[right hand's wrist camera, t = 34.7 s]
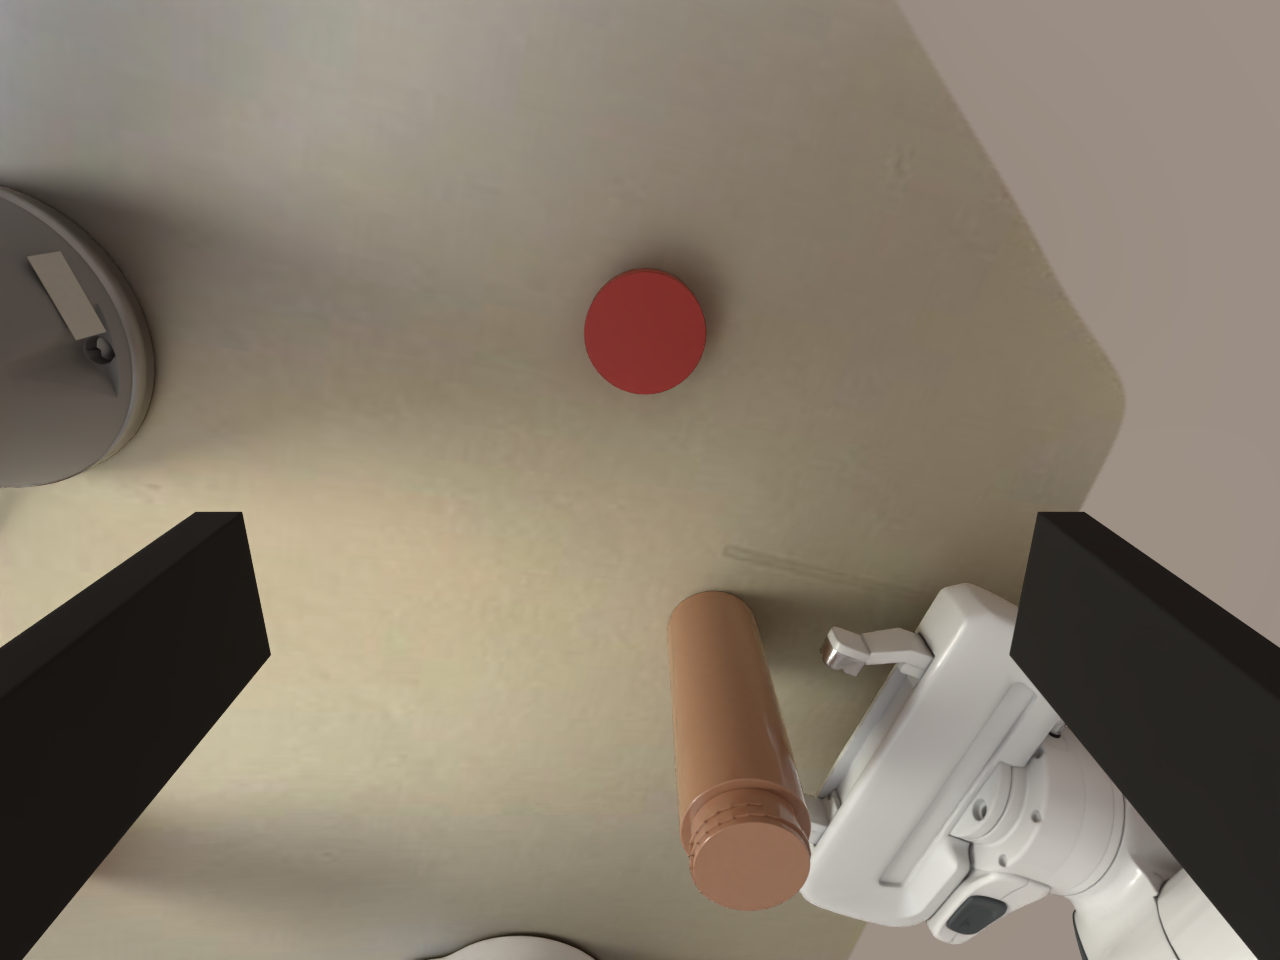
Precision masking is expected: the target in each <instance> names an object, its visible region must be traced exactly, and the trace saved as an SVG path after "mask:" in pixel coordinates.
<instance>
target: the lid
mask: <svg viewBox="0 0 1280 960" xmlns="http://www.w3.org/2000/svg"><path fill="white" fill-rule="evenodd" d="M584 338H585V345H586V350H587V353H588V355H589V358H590V360H591V362H592V364H593V366H594V367H595V368H596V370H597V371H598V372H599V374H600V375H601V376H602V377H603V378H604V379H605V380H607V381H608V382H609V383H611V384H612V385H614V386H615V387H617V388H619V389H621V390H624V391H627V392H630V393H635V394H655V393H660V392H663V391H666V390H669V389H671V388H673V387H675V386H676V385H678V384H679V383H681V382H682V381H683V380H685V379H686V378H687V377H688V376H689V375H690V374H691V373H692V372H693V370H694V369H695V367H696V366H697V364H698V362H699V360H700V359H701V356H702V353H703V351H704V346H705V341H706V325H705V319H704V316H703V312H702V310H701V308H700V305H699V303H698V302H697V300H696V298H695V297H694V295H693V293H692V292H691V291H690V290H689V288H688V287H687V286H686V285H685V284H684V283H683V282H682V281H680V280H679V279H677V278H676V277H674V276H672V275H670V274H668V273H666V272H663V271H660V270H655V269H635V270H630V271H627V272H624V273H622V274H620V275H618V276H616V277H614V278H613V279H611V280H610V281H609V282H607V283H606V284H605V285H604V286H603V287H602V288H601V290H600V291H599V292H598V293H597V295H596V297H595V298H594V300H593V302H592V304H591V306H590V309H589V311H588V314H587V317H586V321H585V328H584Z"/></svg>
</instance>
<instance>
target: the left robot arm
mask: <svg viewBox="0 0 1280 960" xmlns="http://www.w3.org/2000/svg"><path fill="white" fill-rule="evenodd" d="M1018 608H1019V607H1018V606H1016V605H1014V604H1012V603H1011V602H1009V601H1007V600H1005V599H1003V598H1001V597H999V596H997V595H995V594H993V593H991V592H989V591H987V590H985V589H983V588H980V587H978V586H976V585H973V584H970V583H960V584H956V585H952V586H947V587H944V588H943V589H941V590H940V592H939V593H938V595H937V596H936V598H935V599H934V601H933V603H932V604H931V606H930V608H929V609H928V611H927V613H926V614H925V616H924V618H923V619H922V621H921V623H920V624H919V626H918V627H917V629H916V631H915V632H914V633H913V632H910V631H907V630H904V629H902V628H899V627H898V628H892V629H886V630H880V631H874V632H868V633H862V634H861V635H858V634H856V633H853V632H850V631H847V630H844V629H842V628H839V627H832V628H831V630H830V632H829V633H828V635H827V637H826V639H825V640H824V642H823V644H822V646H821V648H820V649H819V651H820V654H823V656H822V659H823V662H824V663H825V664H826V665H827V666H829V667H830V668H832V669H835V670H841V669H843V671H844V672H845V673H846V674H849V675H852V676H855V677H857V675H858V674H859V672H860V671H861V669H862V668H863V666H864V664H865V665H875V664H887V663H895V665H894V667H893V668H892V670H891V672H890V673H889V675H888V676H887V678H886V680H885V681H884V683H883V685H882V686H881V688H880V690H879V691H878V693H877V694H876V696H875V698H874V699H873V701H872V703H871V704H870V706H869V708H868V709H867V711H866V712H865V714H864V716H863V717H862V719H861V721H860V722H859V724H858V726H857V727H856V729H855V730H854V732H853V734H852V735H851V737H850V739H849V740H848V742H847V744H846V745H845V747H844V748H843V750H842V752H841V753H840V755H839V757H838V758H837V760H836V762H835V763H834V765H833V766H832V768H831V770H830V771H829V773H828V775H827V776H826V778H825V780H824V781H823V783H822V784H821V786H820V788H819V789H818V791H817V793H816V794H815V796H810V795H807V794H804V797H805V801H806V804H807V808H808V811H809V815H810V819H811V833H810V837H809V845H810V850H811V858H810V871H809V875H808V877H807V880H806V882H805V883H804V885H803V886H802V888H801V889H800V890H799V892H800V893H801V894H802V896H803V897H804V898H805V899H806V900H807V901H808V902H809V903H811V904H813V905H815V906H818V907H820V908H823V909H826V910H829V911H832V912H835V913H838V914H841V915H845V916H848V917H852V918H855V919H859V920H863V921H867V922H871V923H875V924H879V925H884V926H891V927H908V926H914V925H917V924H919V923H922V922H924V921H926V923H927V925H928V927H929V929H930V931H931V932H932V934H933V936H934V937H935V938H937V939H938V940H940V941H943V942H946V943H949V944H962V943H965V942H967V941H969V940H970V939H972V938H973V937H975V936H976V935H977V934H979V933H980V932H982V931H983V930H984V929H986V928H987V927H989V926H990V925H992V924H993V923H995V922H996V921H998V920H999V919H1001V918H1003V917H1004V916H1006V915H1008V914H1009V913H1011V912H1013V911H1015V910H1017V909H1019V908H1021V907H1023V906H1025V905H1028V904H1030V903H1033V902H1035V901H1037V900H1039V899H1041V898H1043V897H1045V896H1046V895H1047V894H1048V893H1050V894H1053V895H1058V896H1062V897H1066V898H1067V899H1069V901H1070V902H1071V903H1072V904H1073V906H1074V907H1075V910H1074V912H1073V924H1074V929H1075V935H1076V938H1077V942H1078V946H1079V950H1080V953H1081V956H1082V960H1258V959H1257V958H1256V957H1255V956H1254V954H1253V953H1252V952H1251V951H1250V949H1249V948H1248V947H1247V946H1246V945H1245V943H1244V942H1243V941H1242V940H1241V938H1240V937H1239V936H1238V935H1237V934H1236V932H1235V931H1234V930H1233V929H1232V927H1231V926H1230V925H1229V924H1228V923H1227V921H1226V920H1225V919H1224V918H1223V916H1222V915H1221V914H1220V913H1219V911H1218V910H1217V909H1216V908H1215V907H1214V905H1213V904H1212V903H1211V902H1210V900H1209V899H1208V898H1207V897H1206V896H1205V894H1204V893H1203V892H1202V891H1201V889H1200V888H1199V887H1198V886H1197V885H1196V883H1195V882H1194V881H1193V880H1192V878H1191V877H1190V876H1189V875H1188V874H1187V872H1186V871H1185V870H1184V869H1183V867H1182V866H1181V865H1180V864H1179V862H1178V861H1177V860H1176V859H1175V858H1174V856H1173V855H1172V854H1171V853H1170V851H1169V850H1168V849H1167V848H1166V847H1165V845H1164V844H1163V843H1162V842H1161V840H1160V839H1159V838H1158V837H1157V836H1156V834H1155V833H1154V832H1153V831H1152V829H1151V828H1150V827H1149V826H1148V825H1147V823H1146V822H1145V821H1144V820H1143V818H1142V817H1141V816H1140V815H1139V813H1138V812H1137V811H1136V810H1135V809H1134V807H1133V806H1132V805H1131V804H1130V802H1129V801H1128V800H1127V799H1126V798H1125V796H1124V795H1123V794H1122V793H1121V791H1120V790H1119V789H1118V788H1117V787H1116V785H1115V784H1114V783H1113V782H1112V780H1111V779H1110V778H1109V777H1108V776H1107V774H1106V773H1105V772H1104V771H1103V769H1102V768H1101V767H1100V766H1099V764H1098V763H1097V762H1096V761H1095V760H1094V758H1093V757H1092V756H1091V755H1090V753H1089V752H1088V751H1087V750H1086V749H1085V747H1084V746H1083V745H1082V744H1081V742H1080V741H1079V740H1078V739H1077V738H1076V736H1075V735H1074V734H1073V733H1072V731H1071V730H1070V729H1069V728H1068V727H1066V724H1065V723H1064V722H1063V720H1062V719H1061V718H1060V717H1059V715H1058V714H1057V713H1056V712H1055V711H1054V709H1053V708H1052V707H1051V706H1050V704H1049V703H1048V702H1047V701H1046V700H1045V698H1044V697H1043V696H1042V695H1041V693H1040V692H1039V691H1038V690H1037V689H1036V687H1035V686H1034V685H1033V684H1032V682H1031V681H1030V680H1029V679H1028V678H1027V676H1026V675H1025V674H1024V673H1023V671H1022V670H1021V669H1020V668H1019V666H1018V665H1017V664H1016V663H1015V662H1014V660H1013V659H1012V658H1011V657H1010V655H1009V653H1010V648H1011V643H1012V638H1013V633H1014V628H1015V623H1016V618H1017V613H1018ZM429 960H595V959H593V958H592V957H590V956H589V955H587V954H586V953H584V952H582V951H580V950H579V949H577V948H574V947H572V946H570V945H567V944H564V943H561V942H558V941H555V940H551V939H546V938H540V937H532V936H505V937H497V938H491V939H487V940H483V941H480V942H477V943H474V944H471V945H469V946H467V947H465V948H463V949H461V950H459V951H457V952H455V953H453V954H451V955H448V956H446V957H443V958H437V959H429Z"/></svg>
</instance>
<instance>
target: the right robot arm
mask: <svg viewBox="0 0 1280 960" xmlns="http://www.w3.org/2000/svg"><path fill="white" fill-rule="evenodd" d="M153 385H154V355H153V348H152V342H151V338H150V333H149V329H148V326H147V323H146V320H145V317H144V314H143V312H142V310H141V307H140V305H139V303H138V301H137V298H136V297H135V295H134V293H133V291H132V289H131V287H130V286H129V284H128V282H127V281H126V279H125V278H124V276H123V275H122V273H121V272H120V270H119V269H118V268H117V266H116V265H115V264H114V262H113V261H112V260H111V259H110V257H109V256H108V255H107V254H106V253H105V252H104V251H103V249H102V248H101V247H100V246H99V245H98V244H97V243H96V242H95V241H94V240H93V239H92V238H91V237H90V236H89V235H88V234H87V233H85V232H84V231H83V230H82V229H81V228H79V227H78V226H77V225H76V224H75V223H73V222H72V221H71V220H69V219H68V218H66V217H65V216H64V215H62V214H61V213H59V212H58V211H56V210H55V209H53V208H51V207H49V206H48V205H46V204H44V203H42V202H41V201H39V200H36V199H34V198H32V197H30V196H28V195H26V194H23V193H21V192H18V191H15V190H13V189H10V188H7V187H3V186H0V488H5V487H29V486H39V485H46V484H51V483H55V482H59V481H62V480H65V479H68V478H70V477H73V476H75V475H77V474H79V473H81V472H83V471H85V470H87V469H90V468H92V467H94V466H96V465H98V464H100V463H102V462H104V461H105V460H107V459H109V458H110V457H112V456H113V455H114V454H116V453H117V452H118V451H119V450H121V449H122V448H123V447H124V446H125V445H126V444H127V443H128V442H129V441H130V440H131V438H132V437H133V436H134V434H135V433H136V432H137V430H138V428H139V427H140V425H141V423H142V422H143V420H144V417H145V415H146V413H147V410H148V407H149V404H150V400H151V397H152V391H153ZM270 655H271V653H270V648H269V643H268V638H267V633H266V628H265V623H264V618H263V613H262V608H261V603H260V598H259V593H258V588H257V583H256V578H255V573H254V568H253V563H252V559H251V554H250V549H249V544H248V539H247V534H246V529H245V524H244V519H243V514H242V512H195V513H193V514H192V515H191V516H189V517H188V518H186V519H185V520H183V521H182V522H180V523H179V524H178V525H176V526H175V527H173V528H172V529H170V530H169V531H168V532H166V533H165V534H163V535H162V536H160V537H159V538H157V539H156V540H155V541H153V542H152V543H150V544H149V545H147V546H146V547H145V548H143V549H142V550H140V551H139V552H137V553H136V554H134V555H133V556H132V557H130V558H129V559H127V560H126V561H124V562H123V563H122V564H120V565H119V566H117V567H116V568H114V569H113V570H111V571H110V572H109V573H107V574H106V575H104V576H103V577H101V578H100V579H99V580H97V581H96V582H94V583H93V584H91V585H90V586H88V587H87V588H86V589H84V590H83V591H81V592H80V593H78V594H77V595H76V596H74V597H73V598H71V599H70V600H68V601H67V602H65V603H64V604H63V605H61V606H60V607H58V608H57V609H55V610H54V611H53V612H51V613H50V614H48V615H47V616H45V617H44V618H42V619H41V620H40V621H38V622H37V623H35V624H34V625H32V626H31V627H30V628H28V629H27V630H25V631H24V632H22V633H21V634H19V635H18V636H17V637H15V638H14V639H12V640H11V641H9V642H8V643H7V644H5V645H4V646H2V647H1V648H0V960H22V959H23V958H24V957H25V956H26V954H27V953H28V952H29V951H30V949H31V948H32V947H33V946H34V945H35V943H36V942H37V941H38V940H39V938H40V937H41V936H42V935H43V934H44V932H45V931H46V930H47V929H48V927H49V926H50V925H51V924H52V923H53V921H54V920H55V919H56V918H57V916H58V915H59V914H60V913H61V911H62V910H63V909H64V908H65V907H66V905H67V904H68V903H69V902H70V900H71V899H72V898H73V897H74V896H75V894H76V893H77V892H78V891H79V889H80V888H81V887H82V886H83V885H84V883H85V882H86V881H87V880H88V878H89V877H90V876H91V875H92V874H93V872H94V871H95V870H96V869H97V867H98V866H99V865H100V864H101V862H102V861H103V860H104V859H105V858H106V856H107V855H108V854H109V853H110V851H111V850H112V849H113V848H114V847H115V845H116V844H117V843H118V842H119V840H120V839H121V838H122V837H123V836H124V834H125V833H126V832H127V831H128V829H129V828H130V827H131V826H132V825H133V823H134V822H135V821H136V820H137V818H138V817H139V816H140V815H141V813H142V812H143V811H144V810H145V809H146V807H147V806H148V805H149V804H150V802H151V801H152V800H153V799H154V798H155V796H156V795H157V794H158V793H159V791H160V790H161V789H162V788H163V787H164V785H165V784H166V783H167V782H168V780H169V779H170V778H171V777H172V776H173V774H174V773H175V772H176V771H177V769H178V768H179V767H180V766H181V764H182V763H183V762H184V761H185V760H186V758H187V757H188V756H189V755H190V753H191V752H192V751H193V750H194V749H195V747H196V746H197V745H198V744H199V742H200V741H201V740H202V739H203V738H204V736H205V735H206V734H207V733H208V731H209V730H210V729H211V728H212V727H213V725H214V724H215V723H216V722H217V720H218V719H219V718H220V717H221V715H222V714H223V713H224V712H225V711H226V709H227V708H228V707H229V706H230V704H231V703H232V702H233V701H234V700H235V698H236V697H237V696H238V695H239V693H240V692H241V691H242V690H243V689H244V687H245V686H246V685H247V684H248V682H249V681H250V680H251V679H252V678H253V676H254V675H255V674H256V673H257V671H258V670H259V669H260V668H261V666H262V665H263V664H264V663H265V662H266V660H267V659H268V658H269V657H270ZM1009 655H1010V657H1011V658H1012V659H1013V660H1014V662H1015V663H1016V664H1017V665H1018V666H1019V668H1020V669H1021V670H1022V671H1023V673H1024V674H1025V675H1026V676H1027V678H1028V679H1029V680H1030V681H1031V682H1032V684H1033V685H1034V686H1035V687H1036V689H1037V690H1038V691H1039V692H1040V693H1041V695H1042V696H1043V697H1044V698H1045V700H1046V701H1047V702H1048V703H1049V704H1050V706H1051V707H1052V708H1053V709H1054V711H1055V712H1056V713H1057V714H1058V715H1059V717H1060V718H1061V719H1062V720H1063V722H1064V723H1065V724H1066V725H1067V727H1068V728H1069V729H1070V730H1071V731H1072V733H1073V734H1074V735H1075V736H1076V738H1077V739H1078V740H1079V741H1080V742H1081V744H1082V745H1083V746H1084V747H1085V749H1086V750H1087V751H1088V752H1089V753H1090V755H1091V756H1092V757H1093V758H1094V760H1095V761H1096V762H1097V763H1098V764H1099V766H1100V767H1101V768H1102V769H1103V771H1104V772H1105V773H1106V774H1107V776H1108V777H1109V778H1110V779H1111V780H1112V782H1113V783H1114V784H1115V785H1116V787H1117V788H1118V789H1119V790H1120V791H1121V793H1122V794H1123V795H1124V796H1125V798H1126V799H1127V800H1128V801H1129V802H1130V804H1131V805H1132V806H1133V807H1134V809H1135V810H1136V811H1137V812H1138V813H1139V815H1140V816H1141V817H1142V818H1143V820H1144V821H1145V822H1146V823H1147V825H1148V826H1149V827H1150V828H1151V829H1152V831H1153V832H1154V833H1155V834H1156V836H1157V837H1158V838H1159V839H1160V840H1161V842H1162V843H1163V844H1164V845H1165V847H1166V848H1167V849H1168V850H1169V851H1170V853H1171V854H1172V855H1173V856H1174V858H1175V859H1176V860H1177V861H1178V862H1179V864H1180V865H1181V866H1182V867H1183V869H1184V870H1185V871H1186V872H1187V874H1188V875H1189V876H1190V877H1191V878H1192V880H1193V881H1194V882H1195V883H1196V885H1197V886H1198V887H1199V888H1200V889H1201V891H1202V892H1203V893H1204V894H1205V896H1206V897H1207V898H1208V899H1209V900H1210V902H1211V903H1212V904H1213V905H1214V907H1215V908H1216V909H1217V910H1218V911H1219V913H1220V914H1221V915H1222V916H1223V918H1224V919H1225V920H1226V921H1227V923H1228V924H1229V925H1230V926H1231V927H1232V929H1233V930H1234V931H1235V932H1236V934H1237V935H1238V936H1239V937H1240V938H1241V940H1242V941H1243V942H1244V943H1245V945H1246V946H1247V947H1248V948H1249V949H1250V951H1251V952H1252V953H1253V954H1254V956H1255V957H1256V958H1257V959H1258V960H1280V648H1279V647H1278V646H1276V645H1275V644H1273V643H1272V642H1271V641H1269V640H1268V639H1266V638H1265V637H1263V636H1262V635H1261V634H1259V633H1258V632H1256V631H1255V630H1253V629H1252V628H1250V627H1249V626H1248V625H1246V624H1245V623H1243V622H1242V621H1240V620H1239V619H1238V618H1236V617H1235V616H1233V615H1232V614H1230V613H1229V612H1227V611H1226V610H1224V609H1223V608H1222V607H1220V606H1219V605H1217V604H1216V603H1215V602H1213V601H1212V600H1210V599H1209V598H1207V597H1206V596H1204V595H1203V594H1202V593H1200V592H1199V591H1197V590H1196V589H1194V588H1193V587H1191V586H1190V585H1189V584H1187V583H1186V582H1184V581H1183V580H1181V579H1180V578H1179V577H1177V576H1176V575H1174V574H1173V573H1171V572H1170V571H1169V570H1167V569H1166V568H1164V567H1163V566H1161V565H1160V564H1158V563H1157V562H1156V561H1154V560H1153V559H1151V558H1150V557H1148V556H1147V555H1146V554H1144V553H1143V552H1141V551H1140V550H1138V549H1137V548H1135V547H1134V546H1133V545H1131V544H1130V543H1128V542H1127V541H1125V540H1124V539H1123V538H1121V537H1120V536H1118V535H1117V534H1115V533H1114V532H1112V531H1111V530H1110V529H1108V528H1107V527H1105V526H1104V525H1102V524H1101V523H1100V522H1098V521H1097V520H1095V519H1094V518H1092V517H1091V516H1089V515H1088V514H1087V513H1085V512H1038V514H1037V519H1036V524H1035V529H1034V534H1033V539H1032V544H1031V549H1030V554H1029V559H1028V563H1027V568H1026V573H1025V578H1024V583H1023V588H1022V593H1021V598H1020V603H1019V608H1018V613H1017V618H1016V623H1015V628H1014V633H1013V638H1012V643H1011V648H1010V653H1009Z"/></svg>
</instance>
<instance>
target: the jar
mask: <svg viewBox="0 0 1280 960" xmlns="http://www.w3.org/2000/svg"><path fill="white" fill-rule="evenodd" d="M667 639H668V654H669V670H670V686H671V702H672V718H673V733H674V749H675V765H676V781H677V797H678V813H679V828H680V838H681V842H682V845H683V848H684V850H685V851H686V853H687V855H688V856H689V859H690V871H691V875H692V879H693V882H694V883H695V885H696V886H697V888H698V889H699V890H700V892H701V893H702V894H703V895H704V896H706V897H707V898H708V899H709V900H712V901H714V902H716V903H717V904H719V905H722V906H724V907H727V908H731V909H736V910H744V911H754V910H762V909H767V908H771V907H774V906H777V905H779V904H781V903H783V902H785V901H787V900H788V899H790V898H791V897H793V896H794V895H795V894H796V893H797V892H798V891H799V890H800V889H801V888H802V886H803V885H804V883H805V882H806V880H807V877H808V875H809V871H810V858H811V850H810V845H809V837H810V833H811V819H810V815H809V811H808V808H807V804H806V801H805V797H804V793H803V790H802V786H801V782H800V779H799V775H798V772H797V768H796V764H795V761H794V757H793V754H792V750H791V746H790V743H789V739H788V736H787V732H786V728H785V725H784V721H783V717H782V714H781V710H780V707H779V703H778V699H777V696H776V692H775V689H774V685H773V681H772V678H771V674H770V671H769V667H768V663H767V660H766V656H765V652H764V649H763V645H762V642H761V638H760V634H759V631H758V627H757V624H756V620H755V617H754V615H753V612H752V611H751V609H750V608H749V607H748V606H747V604H746V603H744V602H743V601H742V600H741V599H739V598H738V597H736V596H734V595H731V594H728V593H725V592H719V591H707V592H702V593H698V594H695V595H693V596H691V597H689V598H687V599H685V600H684V601H683V602H681V603H680V604H679V605H678V606H677V607H676V609H675V610H674V611H673V613H672V614H671V617H670V619H669V622H668V627H667Z"/></svg>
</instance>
